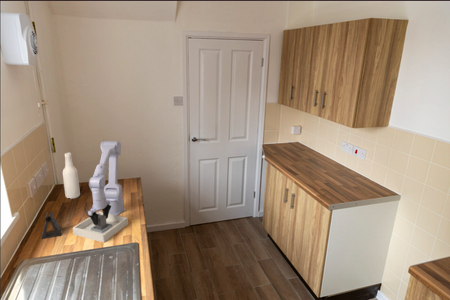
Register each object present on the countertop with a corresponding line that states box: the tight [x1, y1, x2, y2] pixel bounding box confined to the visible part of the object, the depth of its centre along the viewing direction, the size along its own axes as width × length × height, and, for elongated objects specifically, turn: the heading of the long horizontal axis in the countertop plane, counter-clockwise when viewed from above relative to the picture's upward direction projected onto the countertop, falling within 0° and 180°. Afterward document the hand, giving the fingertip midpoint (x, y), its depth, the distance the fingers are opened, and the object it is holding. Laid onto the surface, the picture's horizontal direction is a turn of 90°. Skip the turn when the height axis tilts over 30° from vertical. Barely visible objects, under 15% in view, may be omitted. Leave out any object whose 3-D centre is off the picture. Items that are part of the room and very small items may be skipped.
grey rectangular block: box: [95, 215, 107, 230], centre depth 166 cm, size 4×4×7 cm
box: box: [72, 210, 129, 243], centre depth 166 cm, size 20×20×4 cm
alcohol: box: [62, 152, 81, 200], centre depth 201 cm, size 9×9×30 cm
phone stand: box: [40, 211, 62, 240], centre depth 159 cm, size 9×6×12 cm, turn 115°
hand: (100, 221), depth 166 cm, fingers open, 7 cm apart
